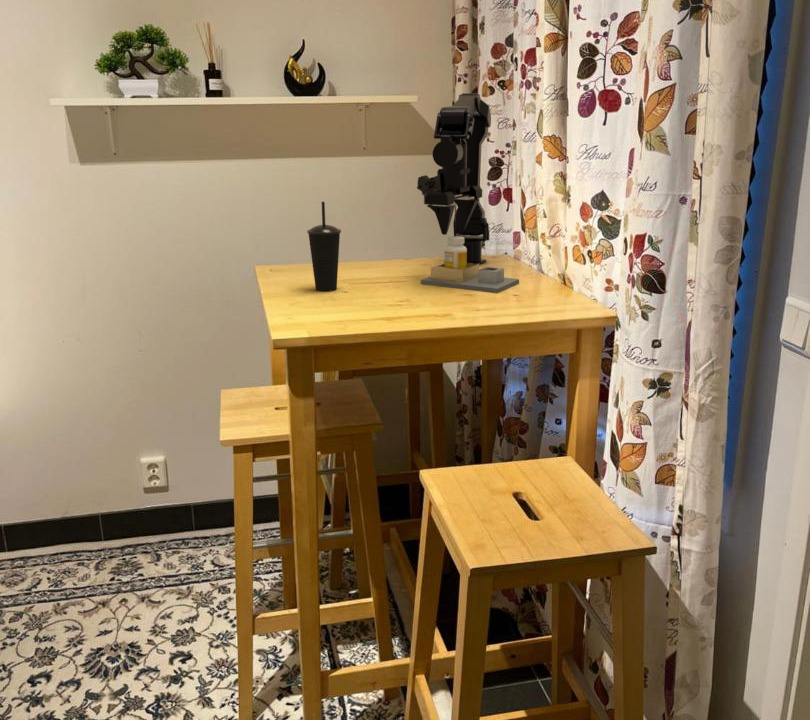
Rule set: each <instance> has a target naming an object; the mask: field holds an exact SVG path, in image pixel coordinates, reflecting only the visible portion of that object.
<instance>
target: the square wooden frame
mask: <svg viewBox="0 0 810 720" xmlns="http://www.w3.org/2000/svg"><path fill="white" fill-rule="evenodd" d="M479 269H480V264H473V263H467V265H466V267H465V268H462V269H457V268H447V267H444V261H443V262H440V263H438V264H435V265H431V266H430V276H431V279H434V280H443V281H451V282H460V283H463V282H466V281H469V280H471V279H474V278H476V277H478V270H479Z"/></svg>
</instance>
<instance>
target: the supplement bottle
mask: <svg viewBox="0 0 810 720" xmlns="http://www.w3.org/2000/svg"><path fill="white" fill-rule="evenodd" d="M463 244H464V237H459V236H454V235H453V236H448V237H447V245H446V246H445V248H444V253H443V254H444V256H443V262H444V267H447V268H457V269H462V268H465V267H466V265H467V248H466V247H465V246H463Z"/></svg>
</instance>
